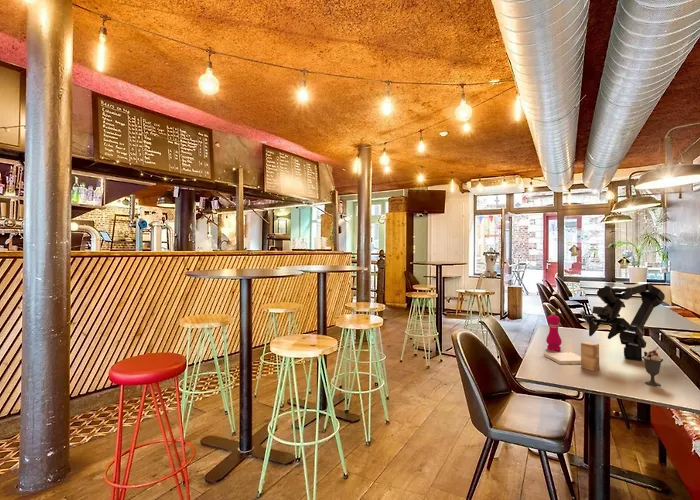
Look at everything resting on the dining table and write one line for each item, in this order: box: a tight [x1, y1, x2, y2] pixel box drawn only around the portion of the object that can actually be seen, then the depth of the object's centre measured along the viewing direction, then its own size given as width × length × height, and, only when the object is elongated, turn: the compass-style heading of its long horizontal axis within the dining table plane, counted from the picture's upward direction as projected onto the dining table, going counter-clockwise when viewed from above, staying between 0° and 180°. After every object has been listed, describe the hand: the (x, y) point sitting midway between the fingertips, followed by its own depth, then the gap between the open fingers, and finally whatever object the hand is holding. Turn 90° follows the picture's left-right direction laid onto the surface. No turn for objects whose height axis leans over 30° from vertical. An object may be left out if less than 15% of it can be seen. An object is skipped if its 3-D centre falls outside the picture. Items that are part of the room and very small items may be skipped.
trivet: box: [543, 351, 581, 365], centre depth 179 cm, size 14×14×2 cm
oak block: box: [580, 341, 600, 371], centre depth 166 cm, size 5×5×11 cm
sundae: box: [642, 346, 664, 387], centre depth 145 cm, size 7×7×15 cm
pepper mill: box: [545, 311, 563, 352], centre depth 198 cm, size 7×7×20 cm
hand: (598, 337), depth 171 cm, fingers open, 9 cm apart
